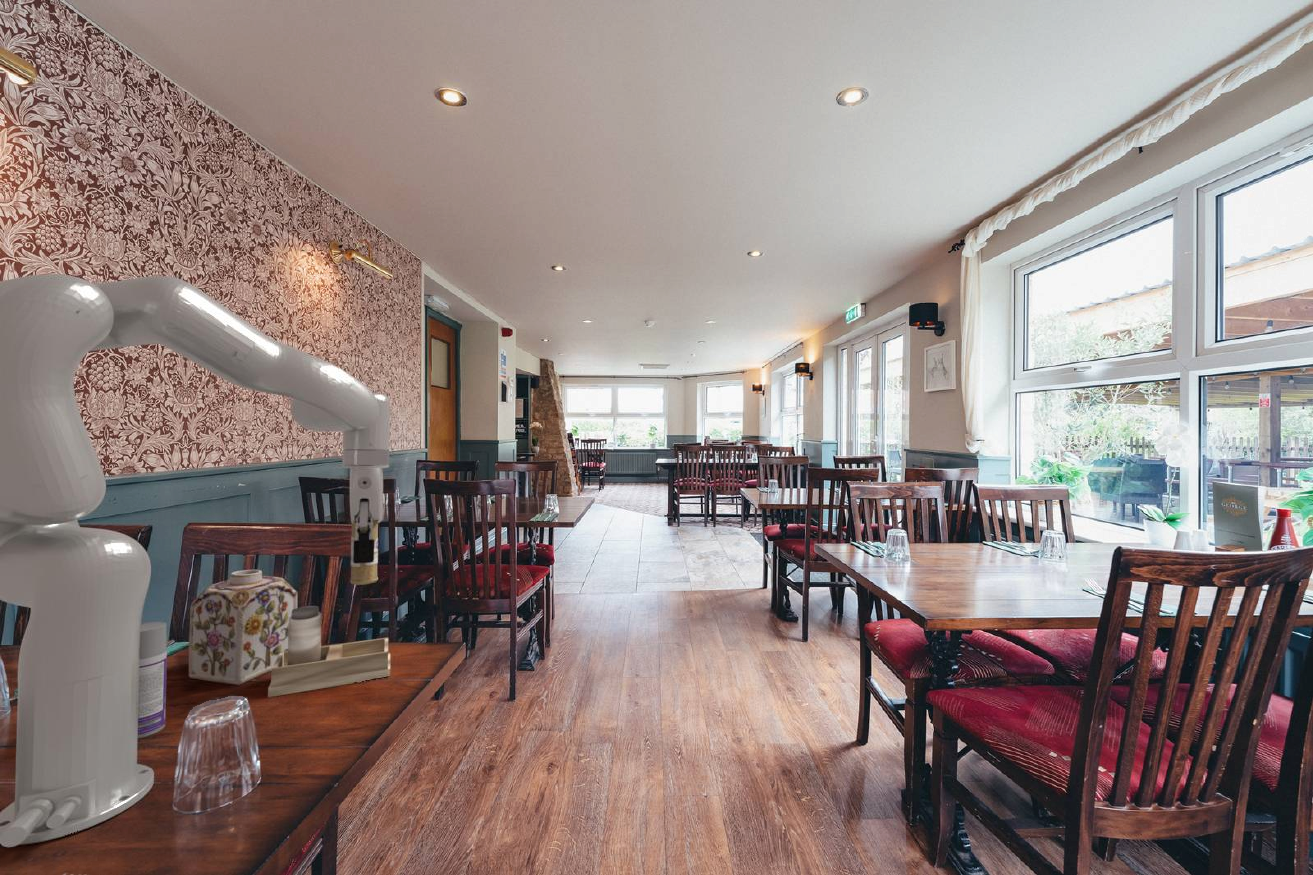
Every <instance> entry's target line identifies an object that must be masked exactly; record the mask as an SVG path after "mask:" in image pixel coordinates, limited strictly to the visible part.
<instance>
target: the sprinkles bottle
mask: <svg viewBox="0 0 1313 875" xmlns="http://www.w3.org/2000/svg"><path fill="white" fill-rule="evenodd" d="M368 509H369V508H368ZM355 519H356V515H355ZM355 522H356V521H355ZM368 522H371V519H368ZM358 523H360V519H359V520H358ZM355 524H356V523H355ZM355 524H354V523H352V522H351V537H350V566H351V567H350V568H351V572H350V573H351V574H350V581H349V582H350V584H351V585H355V586H360V585H361V586H363V585H370V584H373V583H376V582H377V581H378V580H379V577H378V563H379V561H378V560H379V557H378V556H379V537H378V535H379V533H378V532H379V531H378V528H379V523H378V520H374V519H373V539H374V561H373V562H370V563H357V564H355V563H354V562H353V555H354V541H355V527H356V526H355ZM369 528H370V526H369Z"/></svg>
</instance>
